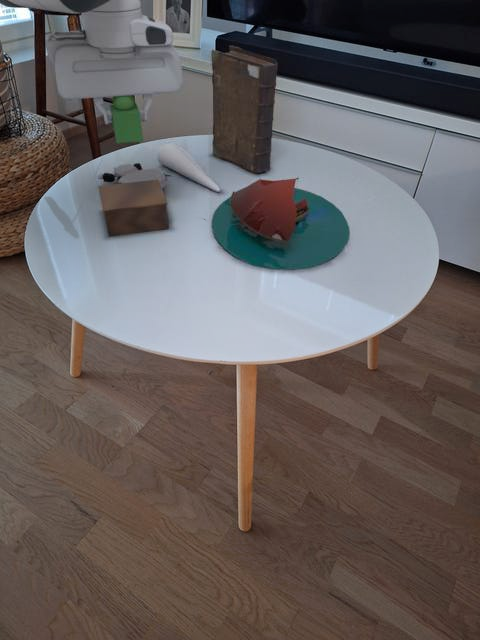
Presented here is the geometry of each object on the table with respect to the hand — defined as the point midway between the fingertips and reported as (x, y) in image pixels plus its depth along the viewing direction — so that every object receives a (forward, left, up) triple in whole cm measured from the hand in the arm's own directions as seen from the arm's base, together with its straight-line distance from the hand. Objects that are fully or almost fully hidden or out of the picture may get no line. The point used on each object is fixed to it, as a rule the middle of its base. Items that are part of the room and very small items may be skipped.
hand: (126, 121), depth 80 cm
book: (+29, +25, -21) cm, 44 cm away
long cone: (+14, +19, -21) cm, 32 cm away
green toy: (0, 0, -3) cm, 3 cm away
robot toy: (+1, +17, -21) cm, 27 cm away
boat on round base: (+27, -8, -21) cm, 36 cm away
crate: (-1, +3, -21) cm, 21 cm away
